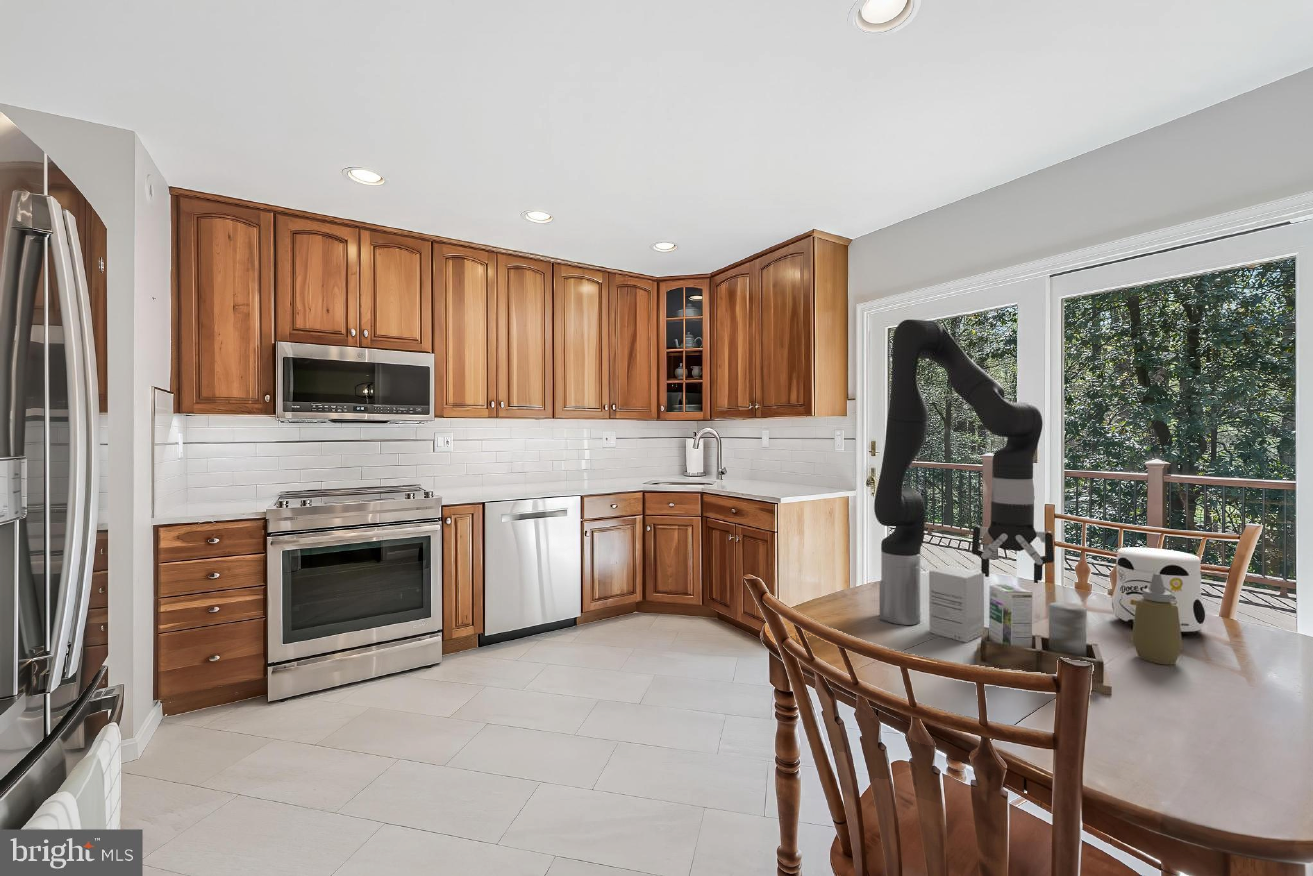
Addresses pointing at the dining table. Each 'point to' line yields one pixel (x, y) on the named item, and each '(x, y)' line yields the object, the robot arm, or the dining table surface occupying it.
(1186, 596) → the milk container
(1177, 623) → the squeeze bottle
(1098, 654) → the walnut caddy
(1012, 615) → the syrup box
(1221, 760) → the dining table surface
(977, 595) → the supplement box
